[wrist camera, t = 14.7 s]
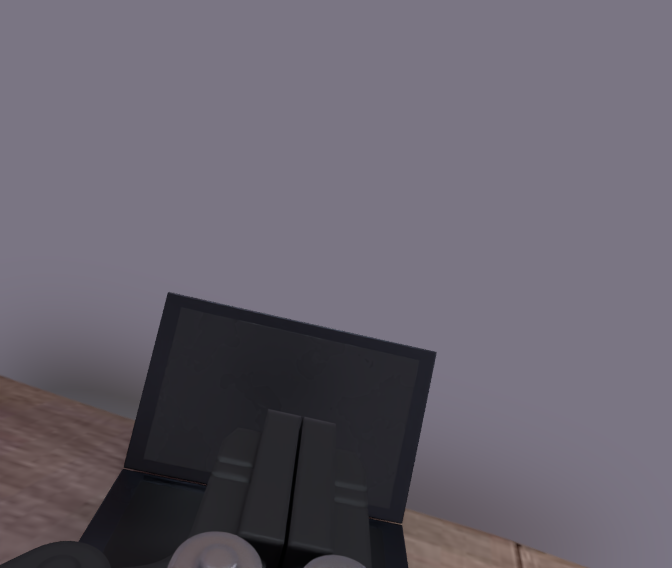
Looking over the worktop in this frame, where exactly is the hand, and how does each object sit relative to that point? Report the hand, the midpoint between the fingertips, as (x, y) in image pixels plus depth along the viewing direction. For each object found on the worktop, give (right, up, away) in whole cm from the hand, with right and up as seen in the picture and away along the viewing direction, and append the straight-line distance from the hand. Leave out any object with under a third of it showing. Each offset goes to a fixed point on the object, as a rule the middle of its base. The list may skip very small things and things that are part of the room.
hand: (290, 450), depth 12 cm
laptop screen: (-2, -4, +19) cm, 19 cm away
